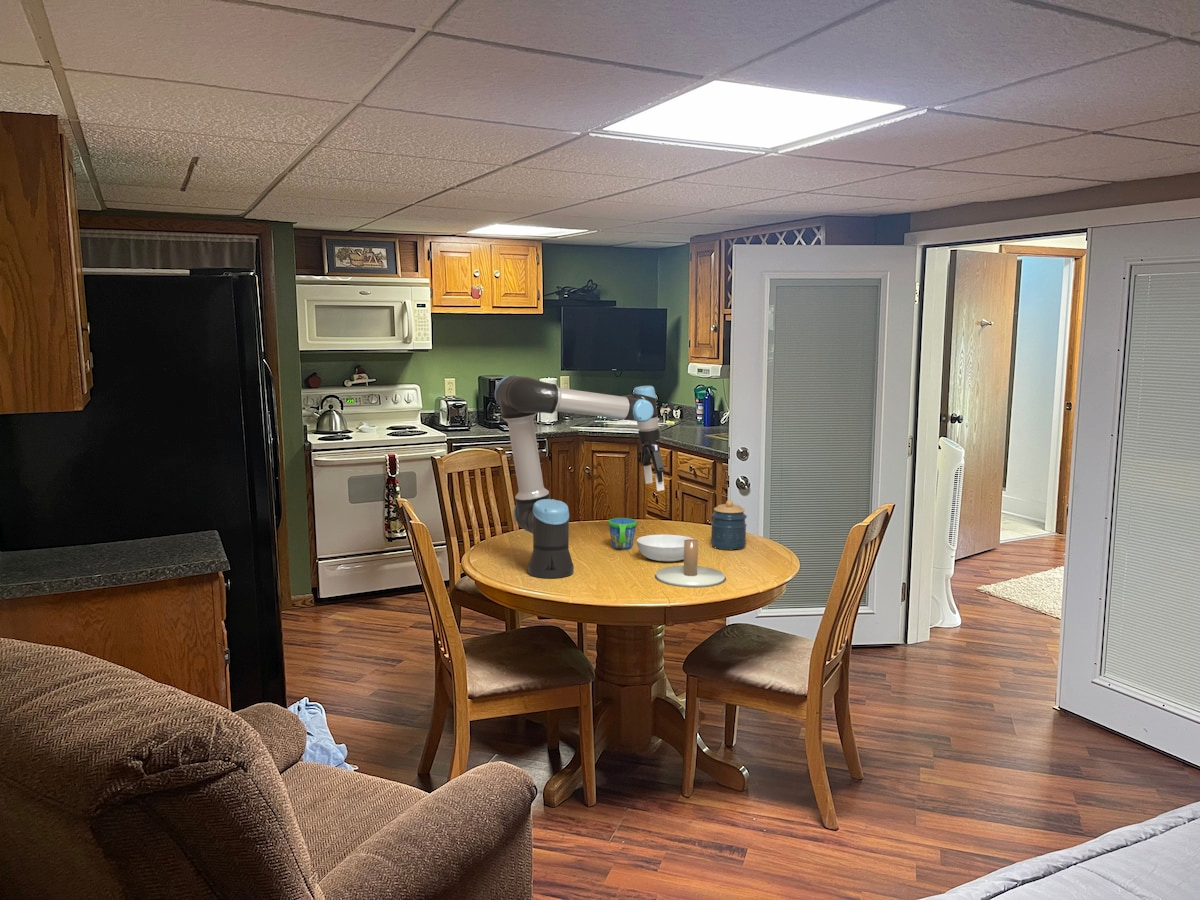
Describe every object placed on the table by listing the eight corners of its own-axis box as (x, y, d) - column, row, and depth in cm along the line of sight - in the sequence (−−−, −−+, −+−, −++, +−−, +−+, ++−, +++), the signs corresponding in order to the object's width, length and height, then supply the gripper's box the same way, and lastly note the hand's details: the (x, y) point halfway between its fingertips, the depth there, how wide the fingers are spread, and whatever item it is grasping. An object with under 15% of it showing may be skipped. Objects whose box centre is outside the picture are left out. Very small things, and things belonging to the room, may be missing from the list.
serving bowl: (706, 557, 313) (706, 538, 312) (678, 570, 295) (678, 550, 294) (655, 549, 324) (655, 531, 323) (625, 561, 307) (625, 541, 306)
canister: (734, 541, 337) (735, 496, 335) (752, 549, 325) (753, 502, 323) (704, 544, 332) (705, 498, 330) (721, 552, 320) (722, 504, 318)
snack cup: (634, 553, 317) (634, 525, 316) (605, 552, 319) (605, 524, 317) (638, 543, 333) (638, 516, 331) (610, 542, 334) (610, 515, 333)
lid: (696, 591, 269) (696, 552, 267) (642, 577, 284) (642, 540, 283) (738, 577, 285) (739, 541, 283) (685, 564, 300) (685, 530, 298)
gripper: (669, 432, 304) (675, 491, 308) (648, 423, 328) (654, 478, 332) (649, 435, 303) (655, 495, 307) (628, 426, 327) (635, 481, 331)
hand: (654, 486), depth 320 cm, fingers open, 13 cm apart
